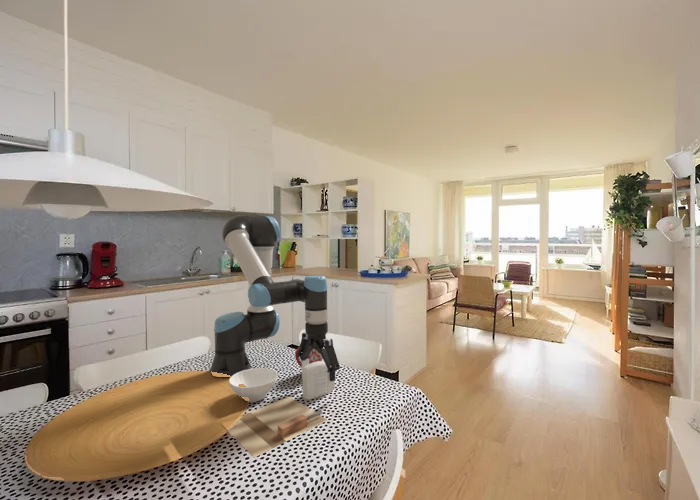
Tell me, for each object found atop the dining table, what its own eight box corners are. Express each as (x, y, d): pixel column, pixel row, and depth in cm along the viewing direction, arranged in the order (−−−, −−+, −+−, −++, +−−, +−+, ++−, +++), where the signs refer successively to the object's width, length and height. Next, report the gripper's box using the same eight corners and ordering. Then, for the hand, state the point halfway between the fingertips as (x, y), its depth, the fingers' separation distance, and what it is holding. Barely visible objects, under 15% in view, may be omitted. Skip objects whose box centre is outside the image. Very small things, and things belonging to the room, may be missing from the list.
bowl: (284, 400, 108) (283, 380, 108) (234, 414, 100) (234, 391, 100) (269, 383, 122) (269, 364, 122) (225, 393, 114) (224, 373, 113)
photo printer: (327, 391, 114) (326, 357, 114) (333, 396, 111) (333, 360, 111) (300, 399, 109) (300, 363, 108) (306, 405, 105) (305, 367, 105)
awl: (282, 438, 85) (282, 429, 85) (277, 434, 87) (277, 425, 87) (323, 417, 95) (323, 409, 95) (318, 414, 96) (318, 406, 96)
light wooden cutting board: (220, 429, 92) (220, 424, 92) (289, 401, 108) (289, 396, 108) (254, 463, 78) (254, 457, 77) (327, 425, 93) (327, 420, 93)
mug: (314, 366, 137) (314, 335, 137) (328, 372, 131) (327, 339, 130) (289, 375, 129) (289, 341, 128) (302, 382, 122) (302, 347, 122)
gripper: (286, 318, 115) (287, 376, 116) (332, 330, 98) (333, 399, 98) (303, 314, 121) (304, 370, 121) (350, 325, 103) (351, 391, 103)
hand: (317, 384), depth 109 cm, fingers open, 13 cm apart
